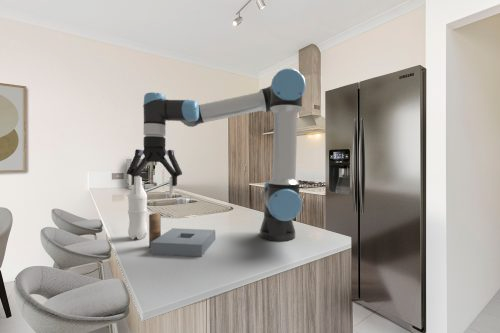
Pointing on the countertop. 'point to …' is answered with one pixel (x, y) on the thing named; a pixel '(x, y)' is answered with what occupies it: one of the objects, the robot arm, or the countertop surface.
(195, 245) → the socket board
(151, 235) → the peg
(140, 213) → the water bottle
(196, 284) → the countertop surface
